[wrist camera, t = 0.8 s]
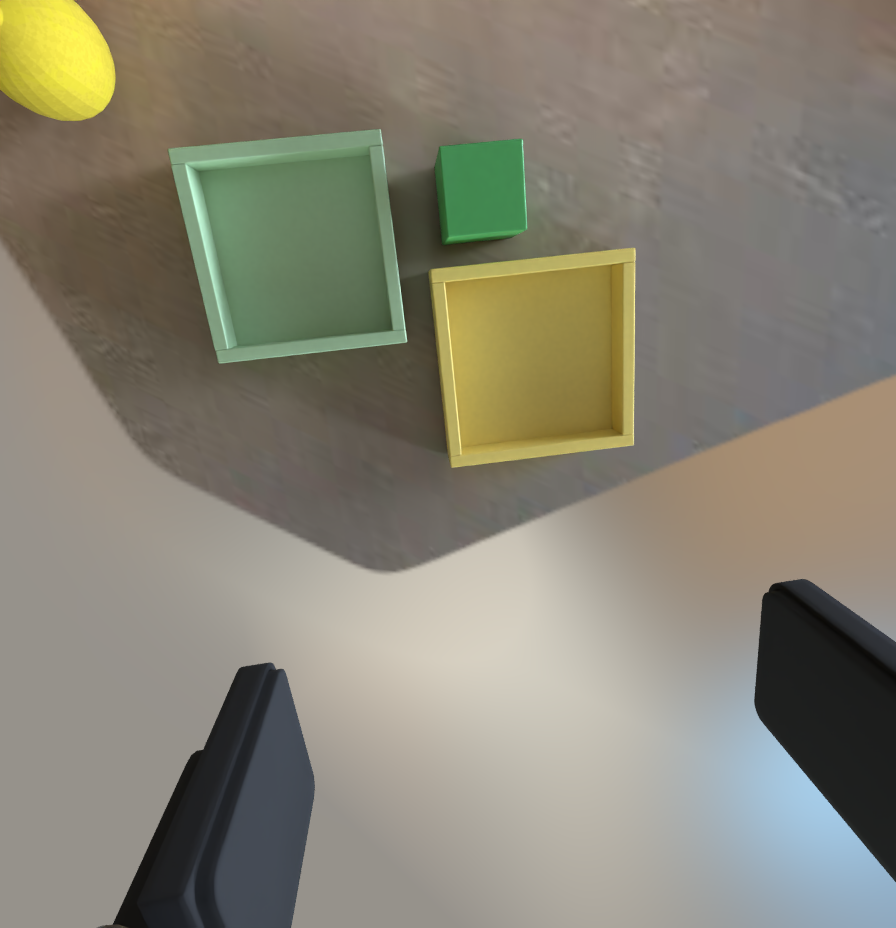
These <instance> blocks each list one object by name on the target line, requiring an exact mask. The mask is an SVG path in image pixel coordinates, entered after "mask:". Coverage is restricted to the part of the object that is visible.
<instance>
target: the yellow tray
mask: <svg viewBox="0 0 896 928" xmlns="http://www.w3.org/2000/svg"><path fill="white" fill-rule="evenodd" d="M634 261H635V248H627V249H617V250H608V251H598V252H589V253H579V254H570V255H560V256H551V257H541V258H532V259H522V260H513V261H504V262H494V263H485V264H475V265H466V266H456V267H447V268H437V269H431V270H430V271H429V272H428V274H429V283H430V292H431V302H432V311H433V320H434V330H435V339H436V348H437V358H438V367H439V376H440V386H441V395H442V404H443V414H444V423H445V432H446V442H447V451H448V458H449V461H450V465H451V467H452V468H453V467H461V466H469V465H477V464H485V463H493V462H501V461H509V460H517V459H526V458H534V457H542V456H550V455H558V454H566V453H574V452H582V451H590V450H598V449H606V448H615V447H623V446H631V445H634V434H633V433H634V334H635V262H634Z"/></svg>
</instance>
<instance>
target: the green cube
mask: <svg viewBox="0 0 896 928" xmlns="http://www.w3.org/2000/svg"><path fill="white" fill-rule="evenodd" d="M434 168H435V178H436V188H437V198H438V209H439V219H440V229H441V239H442V245H448V244H458V243H467V242H477V241H487V240H496V239H506V238H512V237H513V236H515V235H517V234H519V233H521V232H523V231H525V230H527V216H526V196H525V177H524V157H523V140H522V139H512V140H502V141H491V142H480V143H470V144H459V145H449V146H440V147H439V151H438V155H437V159H436V163H435V167H434Z"/></svg>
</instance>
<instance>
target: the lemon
mask: <svg viewBox="0 0 896 928" xmlns="http://www.w3.org/2000/svg"><path fill="white" fill-rule="evenodd" d="M115 79H116V77H115V68H114V62H113V59H112V56H111V53H110V50H109V47H108V45H107V43H106V41H105V40H104V38H103V36H102V34H101V33H100V31H99V29H98V28H97V26H96V25H95V23H94V22H93V21H92V20H91V19H90V17H89V16H88V15H87V14H86V13H85V12H84V11H83V10H82V8H81V7H80V6H79V5H78V4H77V3H76V2H75V1H74V0H0V90H1V91H3V92H4V93H5V94H6V95H7V96H8V97H10V98H11V99H13V100H14V101H15V102H17V103H19V104H21V105H22V106H24V107H26V108H28V109H30V110H32V111H33V112H36V113H38V114H40V115H43V116H47V117H50V118H54V119H57V120H62V121H81V120H84V119H88V118H91V117H94V116H95V115H97V114H98V113H100V112H101V111H103V110H104V108H105V107H106V106H107V104H108V103H109V102H110V100H111V97H112V95H113V92H114V87H115Z"/></svg>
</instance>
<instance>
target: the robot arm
mask: <svg viewBox="0 0 896 928" xmlns="http://www.w3.org/2000/svg"><path fill="white" fill-rule="evenodd" d="M754 702H755V708H756V711H757V714H758V716H759V718H760V720H761V721H762V722H763V724H764V725H765V726H766V727H767V728H768V730H769V731H770V732H771V733H772V734H773V736H775V738H776V739H777V740H778V742H779V743H780V744H781V745H782V746H783V748H784V749H785V750H786V751H787V752H788V754H789V755H790V756H791V757H792V758H793V760H794V761H795V762H796V763H797V764H798V765H799V767H800V768H801V769H802V770H803V772H804V773H805V774H806V775H807V776H808V778H809V779H810V780H811V781H812V782H813V784H814V785H815V786H816V787H817V788H818V790H819V791H820V792H821V793H822V794H823V796H824V797H825V798H826V799H827V800H828V802H829V803H830V804H831V805H832V806H833V808H834V809H835V810H836V811H837V812H838V814H839V815H840V816H841V817H842V818H843V819H844V821H845V822H846V823H847V824H848V826H850V828H851V829H852V830H853V832H854V833H855V834H856V835H857V836H858V838H859V839H860V840H861V841H862V842H863V843H864V845H865V846H866V847H867V848H868V849H869V851H870V852H871V853H872V854H873V855H874V857H875V858H876V859H877V860H878V861H879V863H880V864H881V865H882V866H883V867H884V869H885V870H886V871H887V872H888V873H889V875H890V876H891V877H892V878H893V879H894V881H895V882H896V642H895V641H893V640H892V639H891V638H889V637H888V636H886V635H885V634H884V633H882V632H881V631H879V630H878V629H876V628H875V627H874V626H872V625H871V624H870V623H868V622H867V621H865V620H864V619H863V618H861V617H860V616H858V615H857V614H855V613H854V612H853V611H851V610H850V609H848V608H847V607H846V606H844V605H843V604H841V603H840V602H839V601H837V600H836V599H834V598H833V597H832V596H830V595H829V594H827V593H826V592H825V591H823V590H822V589H820V588H819V587H817V586H816V585H815V584H813V583H812V582H810V581H808V580H805V579H800V580H793V581H786V582H781V583H775V584H773V585H772V586H771V587H770V589H769V592H767V593H765V594H764V596H763V599H762V611H761V625H760V636H759V649H758V661H757V674H756V686H755V699H754ZM314 788H315V785H314V775H313V771H312V767H311V764H310V760H309V756H308V753H307V749H306V745H305V742H304V738H303V734H302V731H301V727H300V723H299V720H298V716H297V713H296V709H295V705H294V701H293V698H292V694H291V691H290V687H289V683H288V679H287V676H286V673H285V671H284V669H278V670H276V669H275V666H274V665H273V663H264V664H257V665H251V666H245V667H241V668H239V670H238V672H237V673H236V676H235V678H234V680H233V683H232V685H231V687H230V690H229V692H228V694H227V696H226V699H225V701H224V703H223V706H222V708H221V710H220V712H219V715H218V717H217V719H216V722H215V724H214V726H213V729H212V731H211V733H210V735H209V738H208V740H207V742H206V745H205V747H204V749H203V750H199V751H196V752H195V753H194V754H192V755H191V757H190V759H189V760H188V762H187V764H186V766H185V768H184V770H183V772H182V775H181V777H180V779H179V781H178V783H177V785H176V788H175V790H174V792H173V794H172V796H171V799H170V801H169V803H168V805H167V807H166V809H165V812H164V814H163V816H162V818H161V820H160V823H159V825H158V827H157V829H156V832H155V833H154V836H153V838H152V840H151V842H150V844H149V847H148V849H147V851H146V853H145V855H144V858H143V860H142V862H141V864H140V866H139V868H138V871H137V873H136V875H135V877H134V879H133V881H132V884H131V886H130V888H129V890H128V892H127V895H126V897H125V899H124V901H123V904H122V906H121V908H120V910H119V912H118V914H117V916H116V919H115V921H114V923H113V925H105V926H100V927H98V928H291V925H292V919H293V913H294V908H295V902H296V897H297V891H298V885H299V879H300V874H301V868H302V862H303V856H304V851H305V845H306V840H307V834H308V828H309V823H310V817H311V811H312V805H313V800H314V790H315V789H314Z"/></svg>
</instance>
